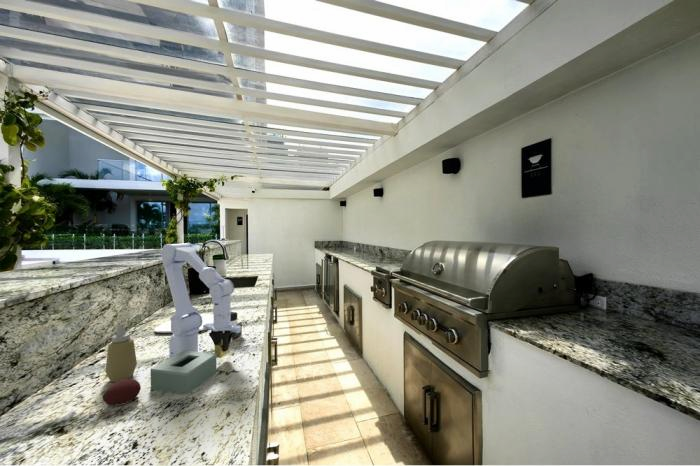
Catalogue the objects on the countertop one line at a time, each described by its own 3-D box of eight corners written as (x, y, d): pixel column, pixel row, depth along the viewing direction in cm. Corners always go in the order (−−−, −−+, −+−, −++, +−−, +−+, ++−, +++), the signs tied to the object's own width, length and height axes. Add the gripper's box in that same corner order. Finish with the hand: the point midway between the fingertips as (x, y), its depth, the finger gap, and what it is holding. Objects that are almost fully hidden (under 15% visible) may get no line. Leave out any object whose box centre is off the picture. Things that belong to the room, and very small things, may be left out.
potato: (109, 397, 80) (109, 377, 80) (144, 391, 83) (143, 371, 83) (98, 413, 73) (98, 391, 73) (136, 405, 77) (136, 384, 76)
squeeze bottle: (142, 373, 93) (142, 321, 93) (116, 386, 86) (115, 329, 85) (126, 369, 96) (126, 319, 96) (99, 382, 88) (98, 326, 88)
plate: (200, 335, 127) (200, 330, 127) (148, 335, 128) (148, 330, 128) (225, 318, 152) (225, 314, 152) (181, 318, 153) (181, 314, 153)
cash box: (150, 389, 84) (150, 368, 84) (184, 368, 97) (184, 350, 97) (186, 394, 82) (186, 373, 81) (216, 372, 94) (216, 353, 94)
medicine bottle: (232, 342, 119) (232, 315, 119) (217, 341, 120) (217, 314, 120) (242, 336, 126) (241, 310, 126) (228, 335, 127) (228, 309, 127)
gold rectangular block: (214, 357, 99) (214, 345, 99) (223, 351, 104) (223, 339, 104) (220, 358, 99) (220, 345, 98) (229, 352, 103) (229, 340, 103)
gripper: (196, 315, 98) (197, 353, 99) (232, 318, 95) (232, 357, 96) (210, 310, 105) (210, 344, 106) (244, 312, 102) (244, 348, 103)
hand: (222, 350), depth 101 cm, fingers closed on gold rectangular block, 2 cm apart
